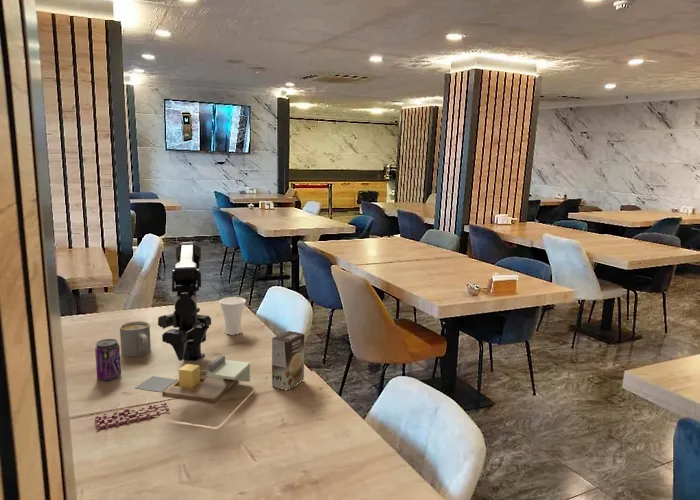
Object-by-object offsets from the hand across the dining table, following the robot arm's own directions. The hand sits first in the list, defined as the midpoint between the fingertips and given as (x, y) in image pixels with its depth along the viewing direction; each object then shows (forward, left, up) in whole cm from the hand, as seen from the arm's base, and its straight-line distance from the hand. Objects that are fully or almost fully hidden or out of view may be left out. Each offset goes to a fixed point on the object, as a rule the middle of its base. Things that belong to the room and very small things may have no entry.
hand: (188, 354), depth 160 cm
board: (0, +4, -11) cm, 11 cm away
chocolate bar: (+21, -5, -11) cm, 24 cm away
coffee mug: (-19, -32, -11) cm, 39 cm away
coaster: (+2, -10, -11) cm, 15 cm away
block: (0, 0, -10) cm, 10 cm away
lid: (0, +13, -9) cm, 16 cm away
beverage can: (+1, -28, -11) cm, 30 cm away
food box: (-11, +29, -11) cm, 32 cm away
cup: (-49, -9, -11) cm, 51 cm away
